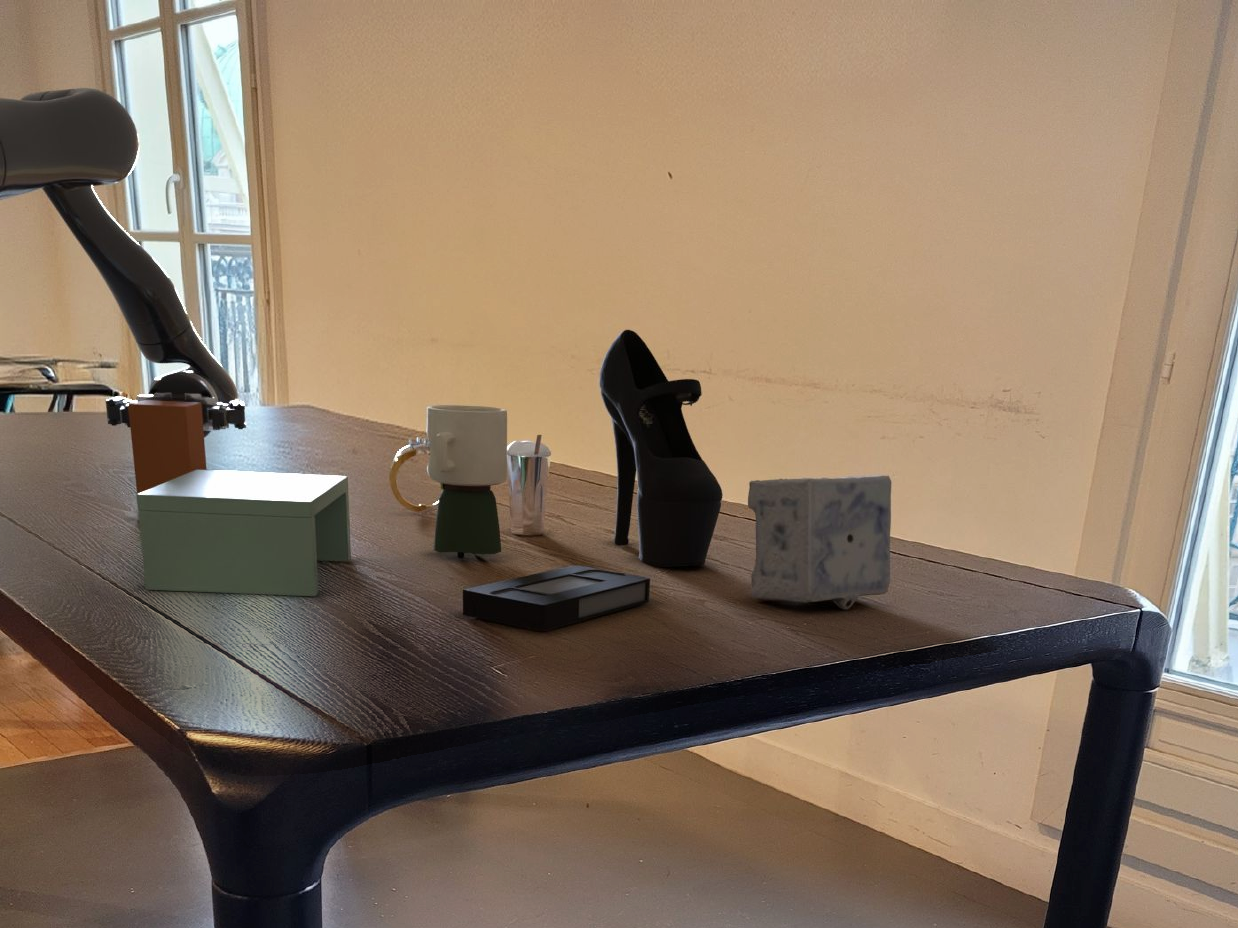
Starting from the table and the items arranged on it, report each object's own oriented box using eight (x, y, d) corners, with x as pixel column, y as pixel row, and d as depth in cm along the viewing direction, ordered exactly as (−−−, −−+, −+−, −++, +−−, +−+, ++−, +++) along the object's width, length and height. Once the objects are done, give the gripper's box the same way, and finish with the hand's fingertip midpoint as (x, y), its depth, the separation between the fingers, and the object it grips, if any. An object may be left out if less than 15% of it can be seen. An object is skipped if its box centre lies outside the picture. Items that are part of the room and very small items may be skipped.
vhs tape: (650, 603, 103) (651, 578, 102) (542, 633, 92) (543, 605, 91) (574, 589, 107) (575, 564, 106) (462, 616, 96) (462, 589, 95)
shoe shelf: (145, 589, 99) (135, 494, 96) (203, 553, 113) (196, 469, 111) (315, 596, 99) (311, 501, 97) (351, 559, 114) (347, 476, 111)
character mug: (459, 543, 124) (458, 402, 119) (526, 551, 122) (528, 407, 117) (404, 561, 114) (400, 408, 109) (476, 569, 112) (476, 414, 107)
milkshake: (516, 538, 128) (517, 434, 124) (499, 529, 133) (499, 429, 129) (558, 537, 130) (561, 434, 126) (540, 529, 134) (542, 429, 131)
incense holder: (819, 587, 113) (832, 465, 109) (890, 606, 107) (906, 477, 103) (736, 596, 107) (746, 468, 103) (805, 617, 101) (819, 481, 97)
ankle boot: (136, 519, 128) (124, 403, 123) (154, 511, 133) (143, 399, 129) (258, 525, 128) (250, 409, 124) (271, 516, 134) (264, 405, 129)
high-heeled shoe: (680, 578, 113) (694, 335, 106) (574, 542, 128) (580, 327, 120) (751, 572, 118) (770, 338, 110) (641, 538, 132) (651, 330, 124)
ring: (454, 512, 142) (453, 437, 139) (455, 517, 139) (455, 440, 136) (390, 511, 141) (388, 435, 138) (390, 515, 138) (388, 438, 135)
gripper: (115, 369, 145) (96, 377, 131) (246, 374, 149) (241, 382, 134) (122, 438, 148) (104, 453, 134) (250, 441, 152) (246, 457, 137)
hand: (173, 418), depth 134 cm, fingers open, 8 cm apart
